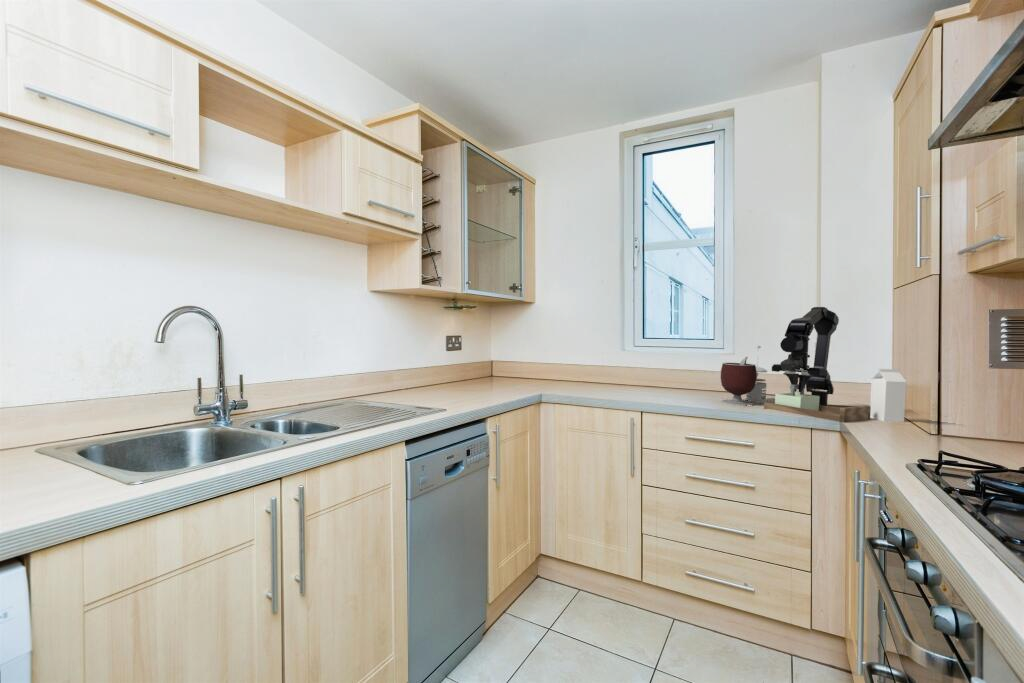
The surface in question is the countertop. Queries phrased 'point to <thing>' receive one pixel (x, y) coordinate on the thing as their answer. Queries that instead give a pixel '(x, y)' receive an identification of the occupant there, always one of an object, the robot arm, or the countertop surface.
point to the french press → (758, 387)
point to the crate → (798, 399)
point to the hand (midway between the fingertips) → (797, 391)
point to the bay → (827, 412)
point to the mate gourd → (738, 380)
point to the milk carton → (888, 396)
